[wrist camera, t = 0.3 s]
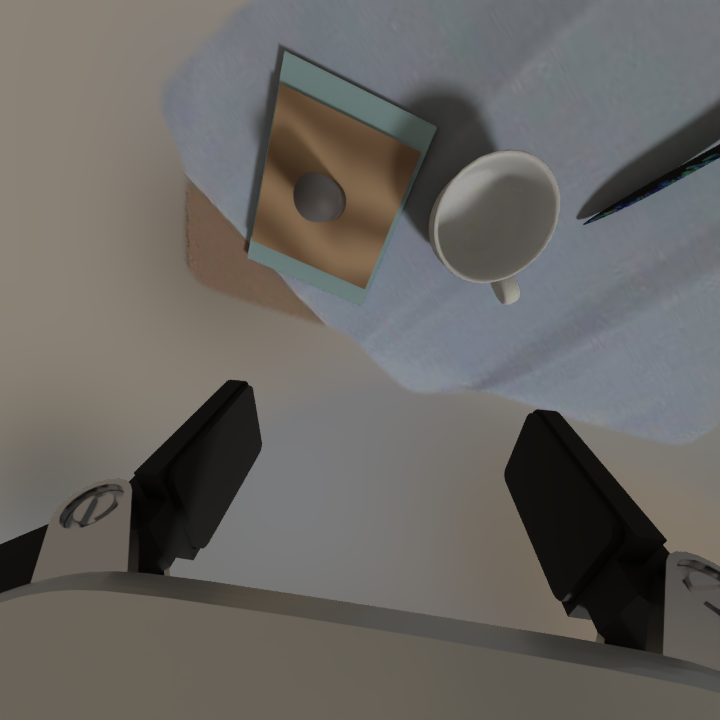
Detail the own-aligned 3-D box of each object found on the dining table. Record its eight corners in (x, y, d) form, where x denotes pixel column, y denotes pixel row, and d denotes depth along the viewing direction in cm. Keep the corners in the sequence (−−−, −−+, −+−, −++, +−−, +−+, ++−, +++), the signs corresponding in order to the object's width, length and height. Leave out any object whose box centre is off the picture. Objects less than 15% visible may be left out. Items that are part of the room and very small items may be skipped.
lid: (283, 86, 27) (251, 51, 21) (420, 153, 28) (427, 137, 22) (254, 239, 34) (225, 245, 28) (365, 287, 35) (359, 303, 30)
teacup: (417, 183, 30) (424, 174, 23) (524, 147, 28) (567, 126, 21) (436, 303, 36) (446, 324, 29) (526, 282, 34) (560, 300, 27)
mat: (288, 55, 27) (284, 50, 26) (435, 129, 28) (437, 127, 27) (250, 256, 36) (247, 257, 35) (362, 304, 38) (361, 306, 37)
